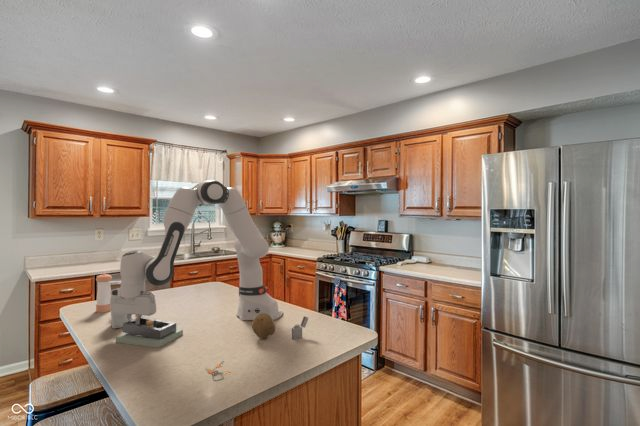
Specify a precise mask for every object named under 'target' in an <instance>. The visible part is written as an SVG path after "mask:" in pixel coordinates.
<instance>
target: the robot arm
mask: <svg viewBox="0 0 640 426" xmlns="http://www.w3.org/2000/svg"><path fill="white" fill-rule="evenodd" d="M217 204H218V206H219V207H220V208H221V210H222V213H223V215H224V217H225V220H226V222H227V224H228V226H229V228H230V231H231V232H232V233H233V234H234V235H235V237H236V239H235V240H234V249H235V252H236V258H237V263H238V269H239V285H238V297H239V298H238V307H237V311H236V317H238V318H239V319H240V320H242V321H253V320H254V319H255V317H256V316H258V315H259V314H262V313H265V314H268V315H269V316H270V317H271V318H272V320H273V321H274V320H275V321H276V320H277V319H279V318H280V317H282V316H283V315H284V312H283V310H282V309H279V304H278V301H277V300H276V299H275V298H273V297H272V296H271V295H270V294H269V293H267V290H268V286H264V283H263V281H264V280H263V277H264V276H263V267H262V265H261V261H260V259H262V258H264V257H266V256H267V254H268V253H269V249H270V246H269V243H268V241H267V240H266V239H265V238H264V237H263V235H262V233H261V231H260V230H259V229H258V227H257V225H256V224H255V223H254V221H253V220H254V219H252V216H251V214H250V212H249V209H248V207H247V205H246V202H245V200H244V198H243V197H242V195H241V193H240V192H239V190H238V189H237V188H235V187H226V186H225V185H224V184H222V183H221V182H220V181H219V180H216V179H209V180H204V181H202V182H199V183H198V184H196V185H195V186H194V187H192V188H191V187H189V186H182V187H179V188H178V189H177V190H176V191H175V192H174V194H173V196H172V197H171V199H170V201H169V202H168V206H166V207H167V208H166V210H165V212H164V217H163V226H164V231H165V233H164V234H165V235H164V239H163V242H162V244H161V247H160V250H159V252H158V255H157V256H156V255H155V256H154V255H151V254H148V253H146V252H144V250H141V249H137V250H131V251H128V252H126V253H124V254H123V255H122V256H121V260H120V264H119V265H120V266H119V268H120V269H119V270H120V271H119V272H120V273H119V274H120V278H121V281H120V286H119V287H117V288H114V289H111V291H110V294H111V295H112V296H111V298H110V309H111V311H112V312H115V313H125V317H126V319H127V322H128V321H130V320H133V319H134V318H133V317H132V315H135V318H136V320H134V324H140V319H141V317H143V316H145V317H147V316H148V317H150V316H153V315H155V314H156V313H157V303H156V297H155V296H156V295H154V294H153V293H152V291H146V281H148V282H149V284H151V285H154V286H164V285H167V284H168V283H169V282H170V281H171V280H172V279H173V277H174V272H175V268H174V267H175V265H174V264H175V258H176V256H177V253H178V250H179V247H180V245H181V242H182V239H183V237H184V235H185V233H186V232H187V231H186V230H187V229H188V228H189V225H190V223H191V222H192V219H193V217H194V214H195V211H196V209H197V208H198V207H199V206H200V205H202V206H212V205H217ZM111 311H110V312H111ZM131 314H132V315H131Z"/></svg>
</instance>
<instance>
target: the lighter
mask: <svg viewBox="0 0 640 426" xmlns="http://www.w3.org/2000/svg"><path fill="white" fill-rule="evenodd" d="M308 320H309V317H307V316H305V315H303V317H302V320H301V323H300V324H294V326H293V327H291V340H292V341H293V340H295V341H296V340H298V339H302V338H303V328H306V326H307V323H308Z"/></svg>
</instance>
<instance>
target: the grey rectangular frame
mask: <svg viewBox="0 0 640 426" xmlns="http://www.w3.org/2000/svg"><path fill="white" fill-rule="evenodd" d="M132 319H133V320H130V321H128V322H125V323H123V327H122V333H123V334H124V333H129V334H134V335H139V336H144V337H149V338H154V339H159V340H161V339H163V338H165V337H166V336H168V335H170V334H172V333H174V332H176V329H177V322H174V321H173V322H172V321H167V320H163V319H157V318H151V317H147V316H142V317H141V319H140V324H134V320H136V317H135V318H132ZM148 320H154V324H153V325H154V327H150V326H147V325H146V321H148Z"/></svg>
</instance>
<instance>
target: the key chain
mask: <svg viewBox="0 0 640 426" xmlns="http://www.w3.org/2000/svg"><path fill="white" fill-rule="evenodd" d="M224 363H225V361H224V360H223V361H221V362H220V363H219V364H216V365H217V366H218V365H219V366H218V368H221V364H222V365H223V364H224ZM215 368H216V369H217V367H216V366H215ZM208 369H209V368H208ZM208 369H207V370H208ZM214 371H215V370H214V369H209V370H208V371H207V374H211V376H212V380H214V382H217V381H216V380H217V379H215V376H218V375H219V374H220V376H221V377H222V378H219V379H218V381H221V380H223V379H225V377H224V376H223V373H222V372H219V370H216V371H215V372H216V373H215V372H214ZM226 371H227V372H228V371H229V370H226ZM213 373H214V374H213ZM228 373H231V374H232V371H230V372H228ZM217 374H218V375H217ZM226 374H227V373H226Z"/></svg>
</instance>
